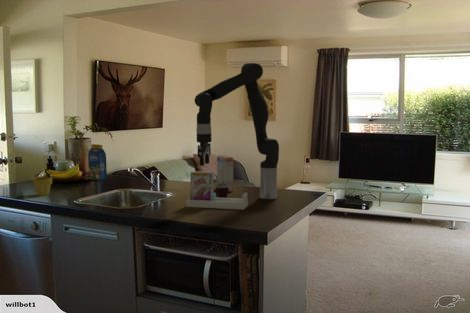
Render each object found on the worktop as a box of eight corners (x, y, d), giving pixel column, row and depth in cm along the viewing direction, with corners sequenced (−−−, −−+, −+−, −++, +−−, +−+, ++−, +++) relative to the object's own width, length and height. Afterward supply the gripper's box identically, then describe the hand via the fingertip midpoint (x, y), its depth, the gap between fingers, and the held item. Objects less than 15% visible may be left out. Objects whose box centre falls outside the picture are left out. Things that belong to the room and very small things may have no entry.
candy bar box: (190, 203, 230) (189, 172, 229) (193, 201, 235) (193, 170, 234) (210, 205, 227) (210, 173, 226) (213, 203, 232) (213, 171, 230)
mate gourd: (231, 198, 250) (231, 171, 248) (222, 200, 243) (222, 173, 242) (220, 196, 254) (220, 170, 252) (211, 199, 247) (211, 172, 246)
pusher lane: (192, 202, 238) (192, 189, 237) (247, 205, 230) (247, 192, 230) (186, 206, 228) (186, 193, 228) (243, 209, 221) (243, 195, 221)
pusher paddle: (214, 202, 233) (214, 192, 233) (230, 202, 231) (230, 193, 230) (210, 204, 227) (210, 195, 226) (227, 205, 224) (227, 195, 224)
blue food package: (96, 178, 324) (94, 143, 321) (107, 179, 317) (105, 144, 314) (88, 179, 319) (87, 144, 316) (99, 180, 312) (98, 145, 309)
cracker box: (233, 191, 269) (233, 157, 267) (224, 192, 267) (224, 157, 265) (225, 188, 282) (225, 155, 280) (216, 188, 280) (216, 155, 278)
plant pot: (56, 193, 264) (55, 177, 263) (42, 196, 255) (41, 179, 254) (43, 192, 269) (43, 176, 268) (29, 195, 259) (28, 178, 258)
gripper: (206, 133, 219) (207, 166, 221) (215, 132, 233) (215, 163, 235) (192, 133, 221) (192, 166, 223) (201, 132, 235) (201, 162, 237)
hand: (204, 164), depth 229 cm, fingers open, 8 cm apart
